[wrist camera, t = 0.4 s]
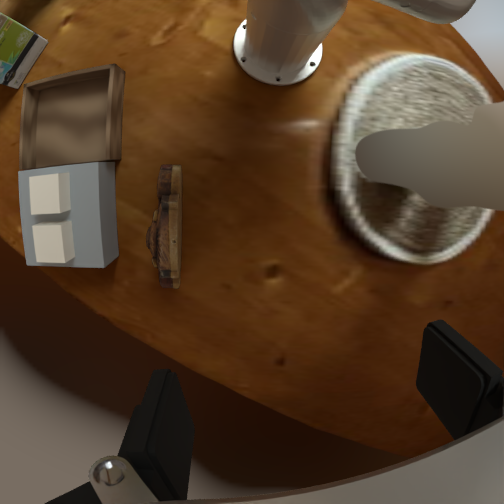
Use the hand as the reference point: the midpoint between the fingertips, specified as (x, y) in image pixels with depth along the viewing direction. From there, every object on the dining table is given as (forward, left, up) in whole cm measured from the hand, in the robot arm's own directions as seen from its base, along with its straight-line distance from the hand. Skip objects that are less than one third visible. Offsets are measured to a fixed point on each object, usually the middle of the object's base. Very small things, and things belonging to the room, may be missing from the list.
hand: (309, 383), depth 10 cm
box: (-15, -27, -36) cm, 47 cm away
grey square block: (-1, -27, -36) cm, 45 cm away
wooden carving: (+1, -11, -36) cm, 38 cm away
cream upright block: (+2, -27, -30) cm, 40 cm away
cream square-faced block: (-5, -27, -30) cm, 41 cm away
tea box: (-31, -43, -36) cm, 64 cm away
